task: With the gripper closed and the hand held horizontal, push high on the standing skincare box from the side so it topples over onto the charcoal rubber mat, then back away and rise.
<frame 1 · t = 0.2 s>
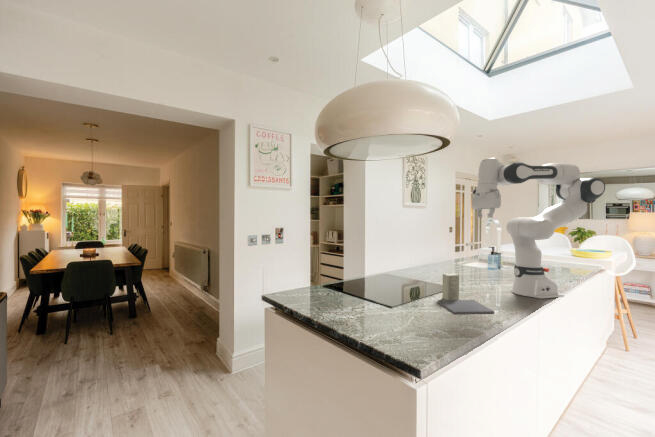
hand: (484, 217, 151), 39 cm above the worktop, tool pointing down, fingers open, 8 cm apart
skincare box: (450, 299, 144), on the worktop
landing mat: (464, 307, 132), on the worktop
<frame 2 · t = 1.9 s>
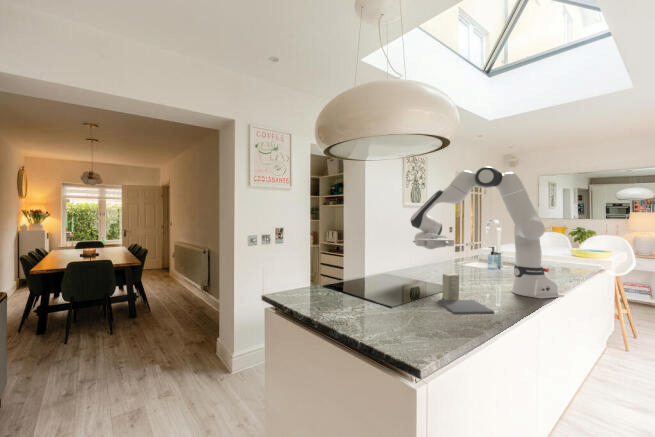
hand: (440, 244, 155), 25 cm above the worktop, tool horizontal, fingers open, 6 cm apart
nothing on the worktop moved.
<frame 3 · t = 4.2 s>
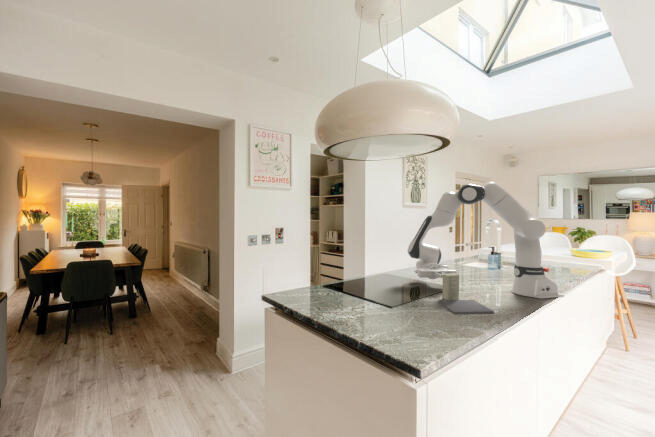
hand: (442, 276, 152), 9 cm above the worktop, tool horizontal, fingers closed
nothing on the worktop moved.
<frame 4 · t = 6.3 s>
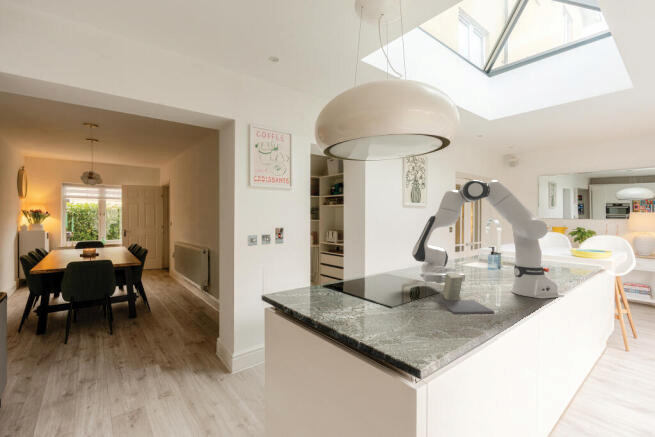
hand: (450, 280, 144), 9 cm above the worktop, tool horizontal, fingers closed
skincare box: (450, 298, 144), on the worktop, touching gripper
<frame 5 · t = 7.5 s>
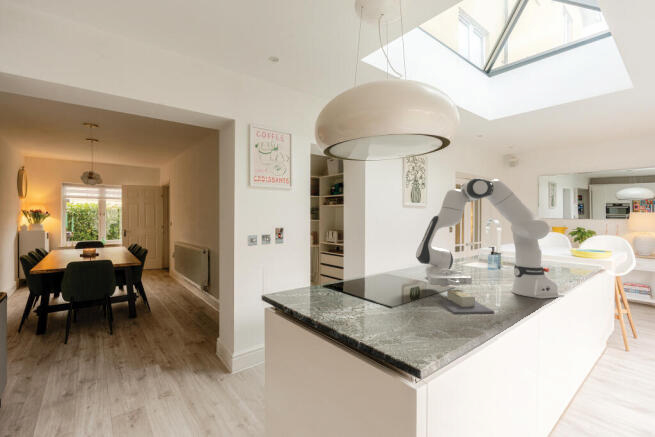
hand: (456, 283, 137), 9 cm above the worktop, tool horizontal, fingers closed
skincare box: (452, 294, 142), point 3 cm above the worktop, touching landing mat
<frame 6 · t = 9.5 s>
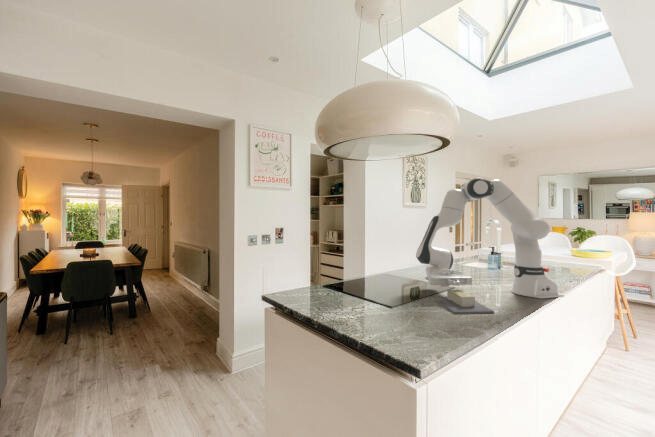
hand: (457, 283, 137), 9 cm above the worktop, tool horizontal, fingers closed
nothing on the worktop moved.
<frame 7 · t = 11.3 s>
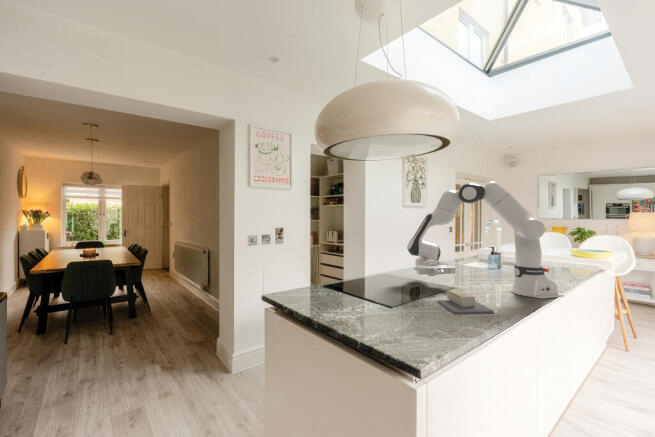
hand: (441, 272, 154), 10 cm above the worktop, tool horizontal, fingers closed
nothing on the worktop moved.
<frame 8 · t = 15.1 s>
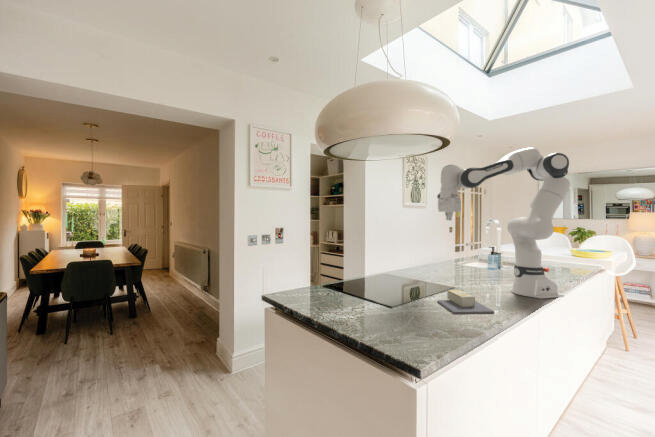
hand: (448, 220, 163), 37 cm above the worktop, tool pointing down, fingers closed
nothing on the worktop moved.
at the end: skincare box tilted 89°; skincare box touching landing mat; skincare box inside the target area (6.9 cm from its centre), point 2.8 cm above the worktop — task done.
